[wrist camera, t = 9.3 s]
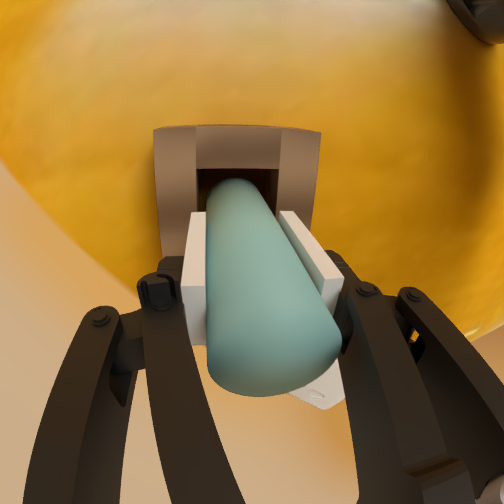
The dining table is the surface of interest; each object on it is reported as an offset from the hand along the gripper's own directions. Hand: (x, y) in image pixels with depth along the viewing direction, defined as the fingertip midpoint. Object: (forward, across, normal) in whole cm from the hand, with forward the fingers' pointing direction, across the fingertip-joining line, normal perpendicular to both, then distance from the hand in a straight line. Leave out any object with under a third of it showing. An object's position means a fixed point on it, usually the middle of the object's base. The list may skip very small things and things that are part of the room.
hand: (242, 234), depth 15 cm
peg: (+6, 0, 0) cm, 6 cm away
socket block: (+9, 0, 0) cm, 9 cm away
